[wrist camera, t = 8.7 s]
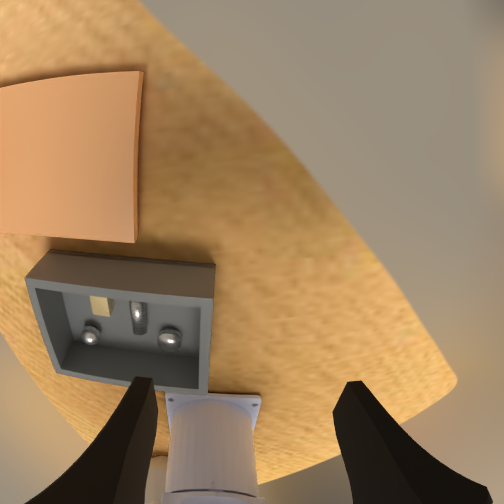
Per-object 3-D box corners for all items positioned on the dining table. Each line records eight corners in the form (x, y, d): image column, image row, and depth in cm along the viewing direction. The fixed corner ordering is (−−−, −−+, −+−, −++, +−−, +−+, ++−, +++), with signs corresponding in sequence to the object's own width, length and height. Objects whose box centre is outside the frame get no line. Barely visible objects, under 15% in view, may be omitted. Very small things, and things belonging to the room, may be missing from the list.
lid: (141, 231, 18) (116, 276, 13) (-9, 221, 17) (-51, 254, 12) (147, 73, 14) (115, 65, 9) (-18, 93, 12) (-70, 103, 8)
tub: (209, 358, 22) (207, 395, 19) (71, 340, 21) (56, 372, 18) (215, 264, 19) (213, 298, 16) (50, 249, 18) (24, 277, 14)
